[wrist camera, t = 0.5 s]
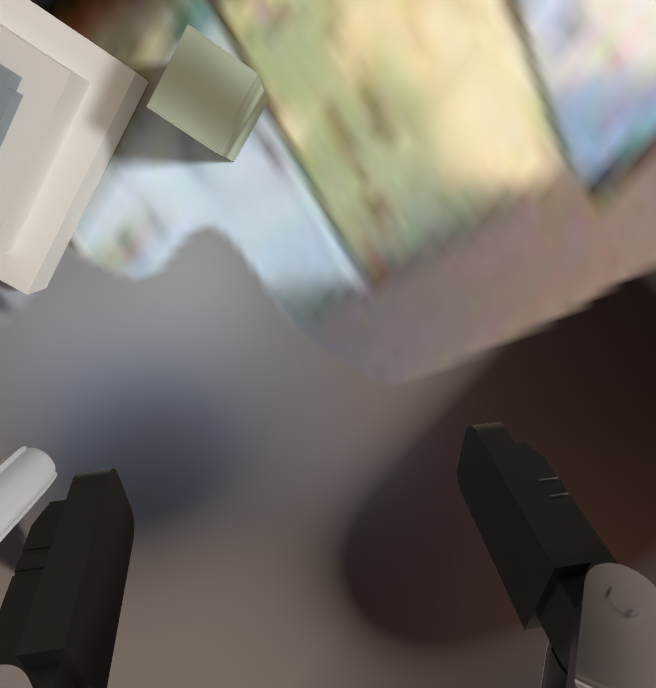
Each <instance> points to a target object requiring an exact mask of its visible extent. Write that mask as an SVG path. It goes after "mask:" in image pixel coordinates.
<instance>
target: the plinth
mask: <svg viewBox="0 0 656 688" xmlns="http://www.w3.org/2000/svg"><path fill="white" fill-rule="evenodd" d="M148 83H149V81H147V80H146V79H145V78H143V77H142V76H141V75H139V74H138V73H136V72H135V71H134V70H132V69H131V68H129V67H128V66H126V65H125V64H123V63H122V62H120V61H119V60H117V59H116V58H114V57H113V56H111V55H110V54H108V53H107V52H105V51H104V50H102V49H101V48H100V47H98V46H97V45H95V44H94V43H92V42H91V41H89V40H88V39H86V38H85V37H83V36H82V35H80V34H79V33H77V32H76V31H74V30H73V29H71V28H70V27H68V26H67V25H65V24H64V23H62V22H61V21H60V20H58V19H57V18H55V17H54V16H52V15H51V14H49V13H48V12H46V11H45V10H43V9H42V8H40V7H39V6H37V5H36V4H34V3H33V2H31V1H30V0H0V280H1V281H3V282H5V283H7V284H8V285H10V286H12V287H14V288H16V289H17V290H19V291H21V292H23V293H25V294H26V295H28V294H31V293H34V292H37V291H40V290H42V289H45V288H46V287H47V285H48V283H49V281H50V279H51V277H52V275H53V273H54V271H55V269H56V267H57V265H58V263H59V261H60V259H61V257H62V255H63V253H64V251H65V249H66V247H67V245H68V243H69V241H70V239H71V237H72V235H73V233H74V231H75V229H76V227H77V225H78V223H79V221H80V219H81V217H82V215H83V213H84V211H85V209H86V207H87V205H88V203H89V201H90V199H91V197H92V195H93V193H94V191H95V189H96V187H97V185H98V183H99V181H100V179H101V177H102V175H103V173H104V171H105V169H106V167H107V165H108V163H109V161H110V159H111V157H112V155H113V153H114V151H115V149H116V147H117V145H118V143H119V141H120V139H121V137H122V135H123V133H124V131H125V129H126V127H127V125H128V123H129V121H130V119H131V117H132V115H133V113H134V111H135V109H136V107H137V105H138V103H139V101H140V99H141V97H142V95H143V93H144V91H145V89H146V87H147V85H148Z"/></svg>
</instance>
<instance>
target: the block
mask: <svg viewBox="0 0 656 688" xmlns="http://www.w3.org/2000/svg"><path fill="white" fill-rule="evenodd" d="M267 103H268V100H267V97H266V94H265V92H264V89H263V87H262V84H261V81H260V79H259V76H258V74H257V73H256V72H255V71H253V70H252V69H250V68H249V67H247V66H246V65H245V64H243V63H242V62H240V61H239V60H238V59H236V58H235V57H233V56H232V55H231V54H229V53H228V52H226V51H225V50H224V49H222V48H221V47H219V46H218V45H217V44H215V43H214V42H212V41H211V40H210V39H208V38H207V37H205V36H204V35H203V34H201V33H200V32H198V31H197V30H196V29H194V28H193V27H191V26H190V25H187V27H186V29H185V31H184V33H183V35H182V37H181V39H180V41H179V43H178V45H177V47H176V49H175V51H174V53H173V55H172V57H171V59H170V61H169V63H168V65H167V67H166V69H165V71H164V73H163V75H162V77H161V79H160V81H159V83H158V85H157V87H156V89H155V91H154V93H153V95H152V97H151V99H150V101H149V103H148V105H147V108H149V109H150V110H152V111H153V112H155V113H156V114H158V115H159V116H161V117H162V118H164V119H165V120H167V121H168V122H170V123H171V124H173V125H174V126H176V127H177V128H179V129H180V130H182V131H183V132H185V133H187V134H188V135H190V136H191V137H193V138H194V139H196V140H197V141H199V142H200V143H202V144H203V145H205V146H206V147H208V148H209V149H211V150H212V151H214V152H215V153H217V154H219V155H221V156H223V157H225V158H227V159H229V160H231V161H233V162H234V161H235V160H236V158H237V156H238V154H239V152H240V151H241V149H242V147H243V145H244V144H245V142H246V140H247V138H248V136H249V135H250V133H251V131H252V129H253V127H254V126H255V124H256V122H257V120H258V119H259V117H260V115H261V113H262V111H263V110H264V108H265V106H266V104H267Z"/></svg>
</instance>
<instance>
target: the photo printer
mask: <svg viewBox="0 0 656 688" xmlns="http://www.w3.org/2000/svg"><path fill="white" fill-rule="evenodd" d="M56 476H57V473H56V472H55V465H54V463H53V461H52V459H51V458H50V457H49V456H48V455H47V454H46V453H45V452H43V451H41V450H39V449H37V448H34V447H29V448H28V447H26V446H22V447H20V448H18V449H16V450H14V451H12V452H11V453H9V454H7V455H6V456H5V457H3V458H2V459H1V460H0V542H1V541H2V539H3V538H4V537H5V536H6V535H7V534H8V533H9V532H10V531H11V529H12V528H13V527H14V526H15V525H16V524H17V523H18V522H19V521H20V519H21V518H22V517H23V516H24V515H25V514H26V513H27V511H28V510H29V509H30V508H31V507H32V506H33V505H34V504H35V502H36V501H37V500H38V499H39V498H40V497H41V495H42V494H43V493H44V492H45V491H46V490H47V489H48V487H49V486H50V485H51V484H52V482H53V481H54V479H55V478H56Z"/></svg>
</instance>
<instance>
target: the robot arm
mask: <svg viewBox="0 0 656 688" xmlns="http://www.w3.org/2000/svg"><path fill="white" fill-rule="evenodd" d="M457 480H458V485H459V488H460V492H461V494H462V496H463V499H464V501H465V503H466V505H467V507H468V509H469V512H470V514H471V516H472V518H473V520H474V522H475V524H476V527H477V529H478V531H479V533H480V535H481V537H482V540H483V542H484V544H485V546H486V548H487V550H488V552H489V554H490V557H491V559H492V561H493V563H494V565H495V567H496V569H497V572H498V574H499V576H500V578H501V580H502V582H503V584H504V587H505V589H506V591H507V593H508V595H509V597H510V600H511V602H512V604H513V606H514V608H515V610H516V613H517V615H518V617H519V619H520V621H521V623H522V625H523V627H524V630H527V629H533V628H539V627H543V629H544V631H545V633H546V635H547V637H548V638H549V642H548V645H547V650H546V656H545V663H544V670H543V676H542V683H541V688H656V587H655V586H654V585H653V584H652V583H651V582H650V581H649V580H648V579H646V578H645V577H644V576H643V575H641V574H640V573H638V572H636V571H635V570H633V569H631V568H628V567H626V566H623V565H620V564H619V563H618V562H617V561H616V560H615V559H614V557H613V556H612V555H611V553H610V552H609V550H608V549H607V548H606V546H605V545H604V543H603V542H602V540H601V539H600V537H599V536H598V534H597V533H596V531H595V530H594V529H593V527H592V526H591V524H590V523H589V521H588V520H587V518H586V517H585V515H584V514H583V513H582V511H581V510H580V508H579V507H578V505H577V504H576V502H575V501H574V499H573V498H572V496H569V494H568V491H567V489H566V488H565V486H564V485H563V483H562V482H561V480H558V476H557V474H556V473H555V472H554V470H553V469H552V467H551V466H550V464H549V463H548V461H547V460H546V458H545V457H544V456H542V455H541V454H540V453H539V452H537V451H536V450H535V449H534V448H532V447H531V446H530V445H529V444H527V443H526V442H519V443H515V442H514V440H513V438H512V437H511V435H510V434H509V432H508V431H507V429H506V428H505V426H504V425H503V424H501V423H499V422H497V423H488V424H480V425H473V426H468V427H467V428H466V431H465V435H464V439H463V444H462V449H461V453H460V457H459V462H458V467H457ZM133 539H134V517H133V511H132V508H131V506H130V503H129V500H128V498H127V495H126V493H125V490H124V487H123V485H122V482H121V480H120V477H119V474H118V472H117V470H116V469H106V470H97V471H89V472H81V473H77V474H76V475H75V476H74V478H73V481H72V484H71V487H70V490H69V493H68V496H67V499H66V500H62V501H54V502H50V503H49V505H48V506H47V507H46V508H45V510H44V511H43V512H42V513H41V514H40V516H39V517H38V518H37V519H36V521H35V522H34V523H33V524H32V526H31V529H30V531H29V534H28V537H27V539H26V542H25V545H24V547H23V554H22V555H20V558H19V561H18V563H17V566H16V569H15V575H14V576H13V577H12V579H11V582H10V584H9V587H8V590H7V592H6V595H5V598H4V600H3V603H2V606H1V608H0V688H107V684H108V678H109V672H110V668H111V662H112V656H113V651H114V645H115V639H116V634H117V629H118V623H119V617H120V612H121V606H122V601H123V595H124V589H125V584H126V578H127V572H128V567H129V562H130V556H131V550H132V545H133Z"/></svg>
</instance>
